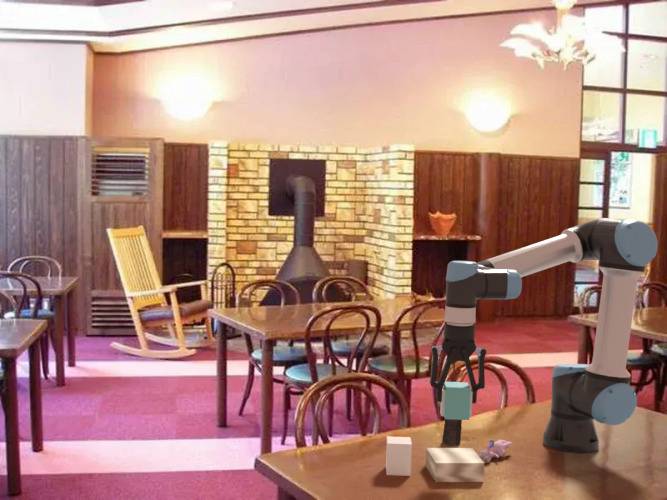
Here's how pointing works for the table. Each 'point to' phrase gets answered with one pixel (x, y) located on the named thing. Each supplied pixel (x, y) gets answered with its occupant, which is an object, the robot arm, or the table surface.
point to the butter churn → (452, 427)
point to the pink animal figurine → (494, 450)
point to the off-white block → (398, 456)
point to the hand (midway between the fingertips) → (455, 415)
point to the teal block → (457, 400)
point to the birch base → (454, 465)
